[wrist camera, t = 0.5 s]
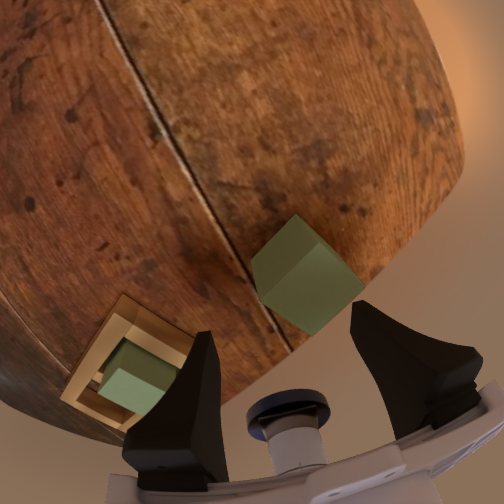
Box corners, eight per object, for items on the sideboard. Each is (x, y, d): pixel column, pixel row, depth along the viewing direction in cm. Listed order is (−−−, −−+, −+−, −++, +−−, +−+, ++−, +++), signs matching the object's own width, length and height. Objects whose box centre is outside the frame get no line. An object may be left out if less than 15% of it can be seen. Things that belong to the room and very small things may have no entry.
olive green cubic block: (336, 252, 21) (366, 287, 16) (293, 294, 22) (311, 337, 17) (295, 212, 19) (319, 242, 14) (249, 260, 20) (258, 301, 16)
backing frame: (212, 348, 23) (213, 370, 21) (132, 417, 27) (129, 434, 25) (123, 293, 20) (114, 312, 18) (66, 382, 24) (59, 398, 22)
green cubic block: (178, 350, 23) (173, 396, 18) (152, 375, 24) (146, 417, 20) (132, 323, 21) (118, 367, 17) (110, 351, 22) (97, 393, 18)
